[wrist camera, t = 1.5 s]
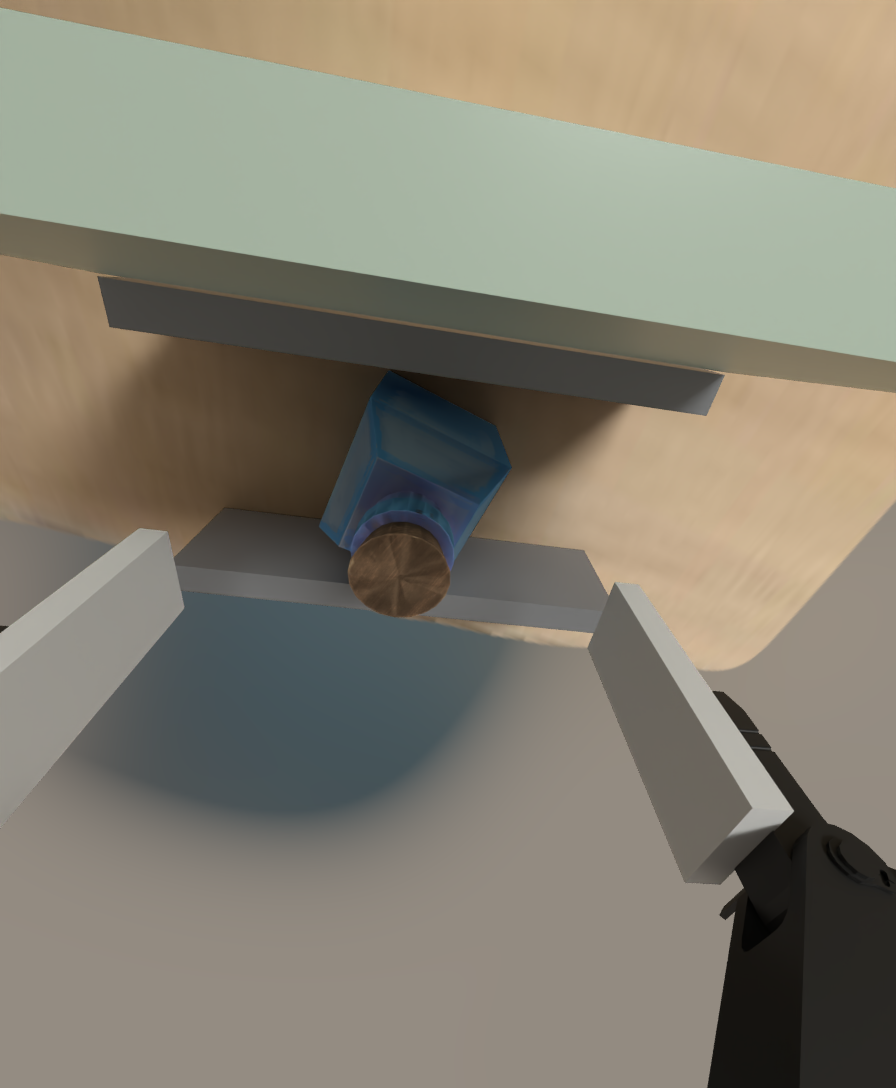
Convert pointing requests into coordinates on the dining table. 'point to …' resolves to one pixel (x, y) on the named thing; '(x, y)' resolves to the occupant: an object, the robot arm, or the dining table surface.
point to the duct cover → (434, 210)
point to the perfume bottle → (411, 495)
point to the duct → (297, 542)
